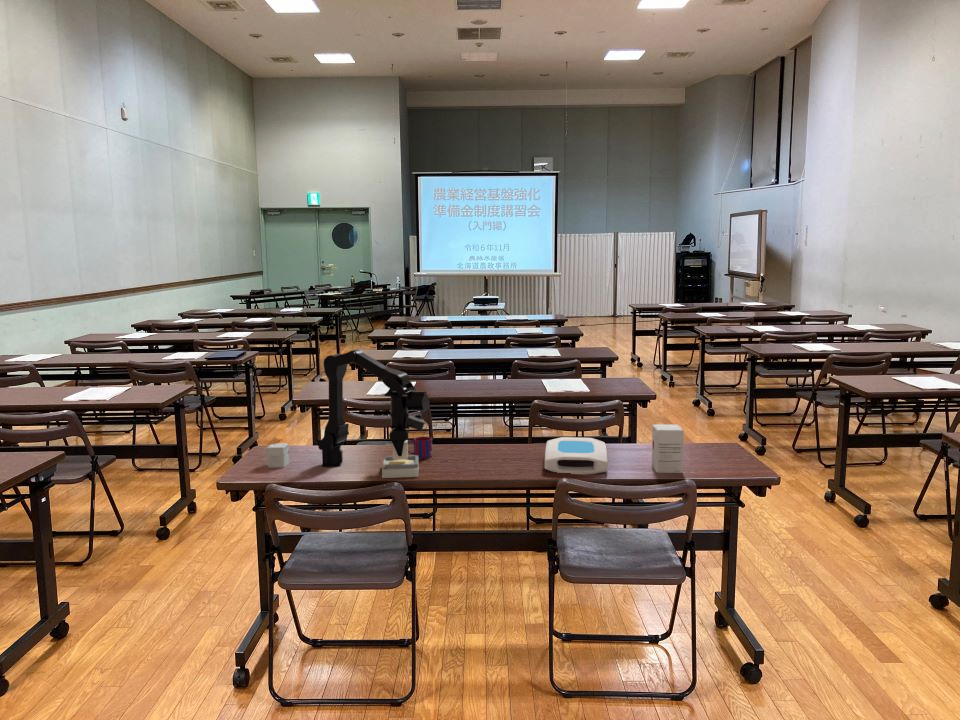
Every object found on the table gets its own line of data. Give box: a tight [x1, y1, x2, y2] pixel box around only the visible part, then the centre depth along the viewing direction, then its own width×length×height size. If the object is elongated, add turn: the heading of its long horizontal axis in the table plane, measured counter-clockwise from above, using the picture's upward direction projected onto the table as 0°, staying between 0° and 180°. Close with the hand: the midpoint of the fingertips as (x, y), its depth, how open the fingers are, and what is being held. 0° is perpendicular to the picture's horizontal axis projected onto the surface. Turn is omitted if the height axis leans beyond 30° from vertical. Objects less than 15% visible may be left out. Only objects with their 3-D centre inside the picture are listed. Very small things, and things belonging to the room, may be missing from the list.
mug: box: [407, 436, 433, 460], centre depth 261 cm, size 7×10×7 cm
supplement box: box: [651, 423, 685, 474], centre depth 240 cm, size 9×9×15 cm
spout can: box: [384, 439, 409, 460], centre depth 241 cm, size 8×5×6 cm, turn 95°
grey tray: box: [381, 454, 420, 479], centre depth 242 cm, size 12×14×4 cm
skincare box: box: [266, 442, 290, 469], centre depth 251 cm, size 6×6×7 cm
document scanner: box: [544, 436, 609, 475], centre depth 250 cm, size 21×28×6 cm
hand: (400, 454), depth 241 cm, fingers closed on spout can, 5 cm apart
